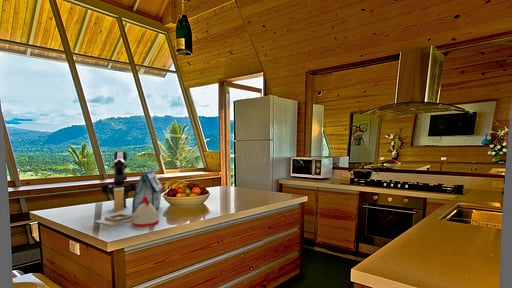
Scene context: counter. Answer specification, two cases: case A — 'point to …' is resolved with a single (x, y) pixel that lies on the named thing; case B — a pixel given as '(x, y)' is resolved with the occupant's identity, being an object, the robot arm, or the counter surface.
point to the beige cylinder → (119, 199)
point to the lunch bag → (147, 190)
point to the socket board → (115, 219)
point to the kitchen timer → (145, 215)
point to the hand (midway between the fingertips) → (118, 199)
